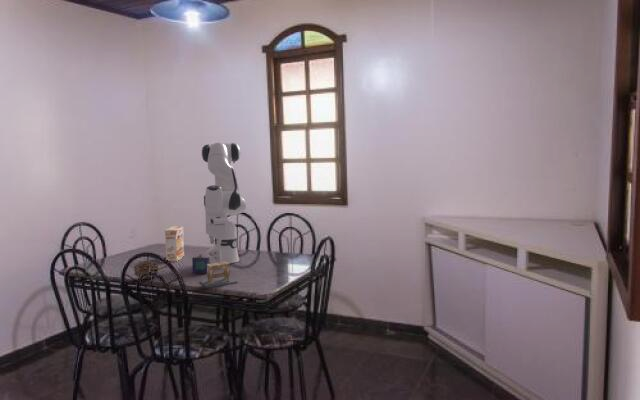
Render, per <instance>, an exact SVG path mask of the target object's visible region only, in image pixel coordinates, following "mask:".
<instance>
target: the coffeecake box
mask: <svg viewBox="0 0 640 400" xmlns="http://www.w3.org/2000/svg"><path fill="white" fill-rule="evenodd" d="M164 236H165V237H164V238H165V239H164V240H165V261H166V260H168V261H170V262H169V263H174V262H176V261H177V262H178V260H179V261H180V260H181V259H183V258H184V257H185V240H184V226H183V225H182V226H180V225H179V226H178V225H176V226H175V225H174V226H173V225H172V226H170V227H169V228H166V229H165V230H164ZM183 256H184V257H183ZM182 257H183V258H182ZM177 262H176V263H177Z"/></svg>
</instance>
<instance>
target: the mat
mask: <svg viewBox="0 0 640 400" xmlns="http://www.w3.org/2000/svg"><path fill="white" fill-rule="evenodd" d="M199 283H200V284H201V285H202V286H204V287H205V288H206V289H207V288H215V287H218V286H219V287H221V286H225V285H227V286H228V285H233V284H237V283H238V280H236V279H235V278H233V277H231V276H230V281H227V279H224V277H219V278H213V284H210V282H208V281H207V279H203V280H199Z"/></svg>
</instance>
